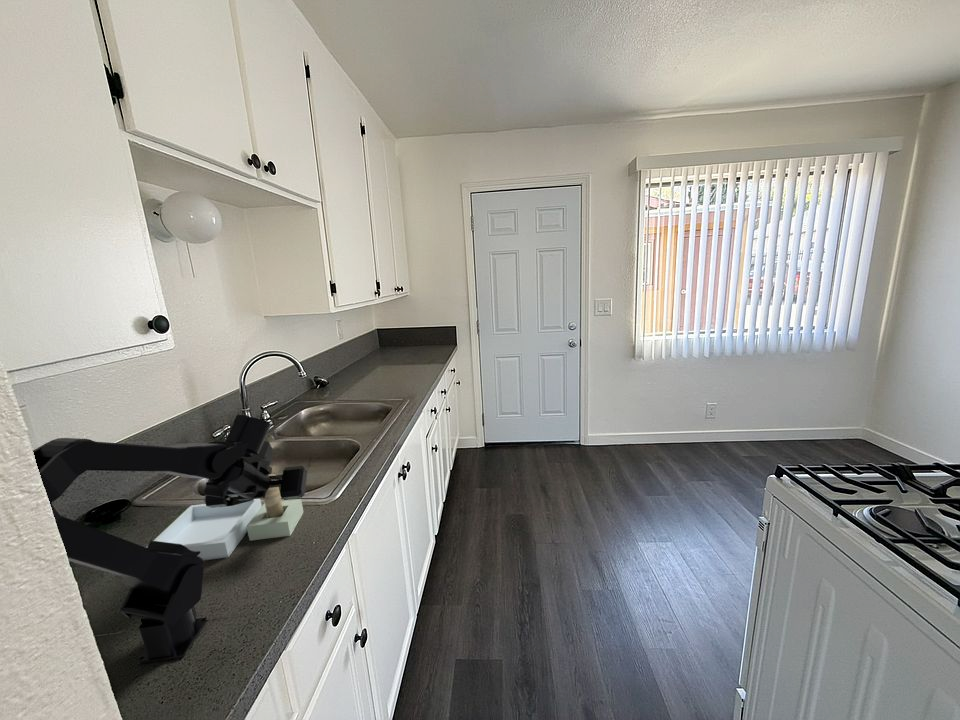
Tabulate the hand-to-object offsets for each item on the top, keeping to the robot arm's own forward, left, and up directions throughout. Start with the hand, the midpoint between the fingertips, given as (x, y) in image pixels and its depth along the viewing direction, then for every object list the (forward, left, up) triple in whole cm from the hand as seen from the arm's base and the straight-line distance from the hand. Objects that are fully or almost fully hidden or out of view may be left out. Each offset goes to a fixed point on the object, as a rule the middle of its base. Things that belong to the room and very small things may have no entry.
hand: (274, 495), depth 86 cm
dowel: (-1, 0, -7) cm, 7 cm away
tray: (-2, +14, -7) cm, 16 cm away
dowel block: (-1, 0, -7) cm, 7 cm away
